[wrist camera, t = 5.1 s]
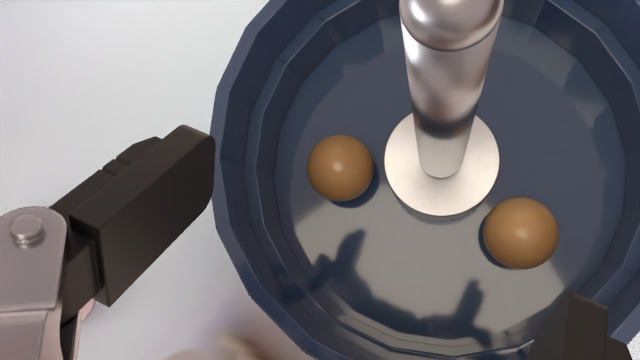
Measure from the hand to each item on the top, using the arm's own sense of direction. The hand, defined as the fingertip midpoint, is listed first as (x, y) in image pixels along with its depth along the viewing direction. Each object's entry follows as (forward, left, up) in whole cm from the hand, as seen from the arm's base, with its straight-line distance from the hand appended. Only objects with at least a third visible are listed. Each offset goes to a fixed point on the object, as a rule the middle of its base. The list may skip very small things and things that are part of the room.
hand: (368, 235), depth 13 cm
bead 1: (-4, -2, -13) cm, 14 cm away
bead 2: (0, +5, -13) cm, 14 cm away
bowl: (-4, +2, -15) cm, 16 cm away
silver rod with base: (-4, +2, -14) cm, 15 cm away
